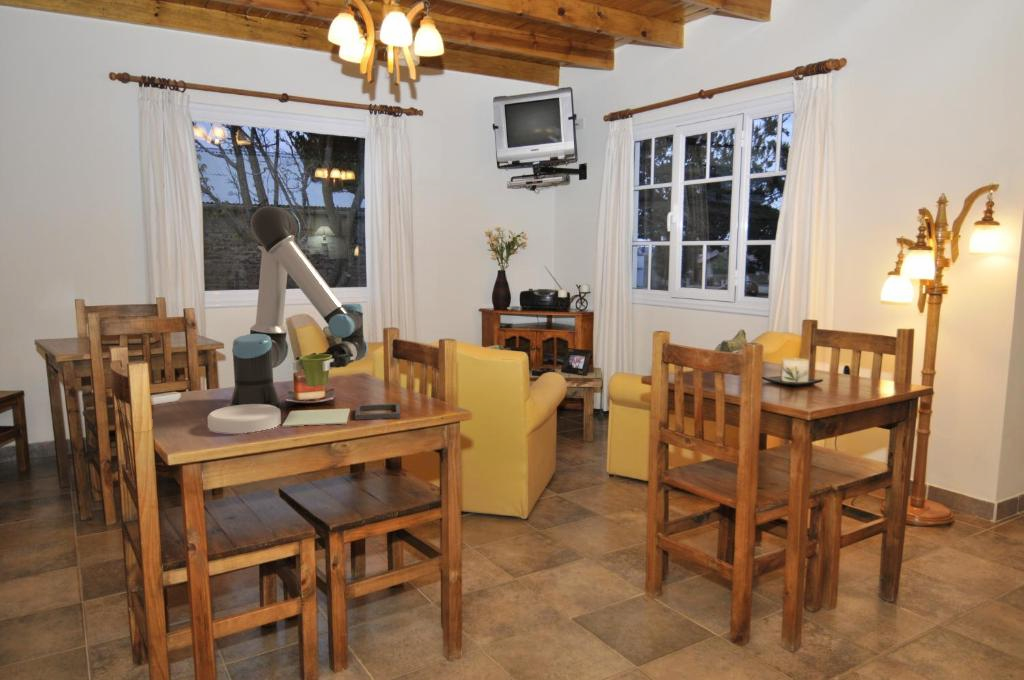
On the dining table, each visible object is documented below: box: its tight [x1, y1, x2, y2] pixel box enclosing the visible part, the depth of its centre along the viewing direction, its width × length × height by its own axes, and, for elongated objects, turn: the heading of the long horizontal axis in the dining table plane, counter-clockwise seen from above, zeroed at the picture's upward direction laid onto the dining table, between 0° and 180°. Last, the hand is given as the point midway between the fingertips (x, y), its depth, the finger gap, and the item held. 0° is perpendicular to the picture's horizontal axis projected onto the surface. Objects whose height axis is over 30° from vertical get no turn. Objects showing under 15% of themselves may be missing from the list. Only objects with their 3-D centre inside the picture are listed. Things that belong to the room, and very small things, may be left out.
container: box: [206, 404, 282, 433], centre depth 208 cm, size 20×20×5 cm
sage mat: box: [281, 408, 350, 428], centre depth 217 cm, size 18×18×1 cm
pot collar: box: [354, 403, 401, 421], centre depth 222 cm, size 13×13×2 cm
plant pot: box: [299, 353, 332, 388], centre depth 215 cm, size 9×9×9 cm
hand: (309, 366), depth 210 cm, fingers closed on plant pot, 9 cm apart
